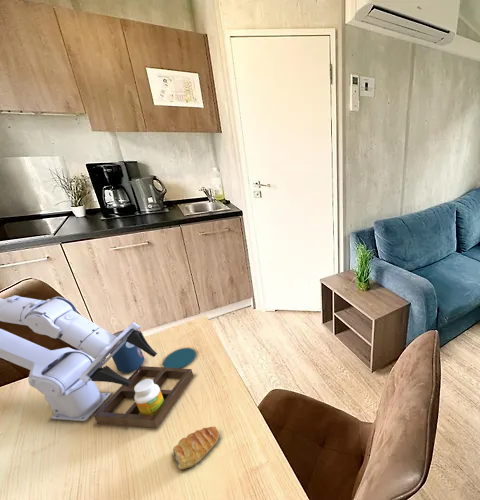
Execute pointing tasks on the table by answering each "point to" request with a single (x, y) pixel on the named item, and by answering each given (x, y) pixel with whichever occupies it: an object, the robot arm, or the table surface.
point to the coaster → (180, 358)
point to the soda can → (127, 357)
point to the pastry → (195, 446)
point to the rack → (132, 414)
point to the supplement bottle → (148, 397)
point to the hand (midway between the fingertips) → (143, 369)
